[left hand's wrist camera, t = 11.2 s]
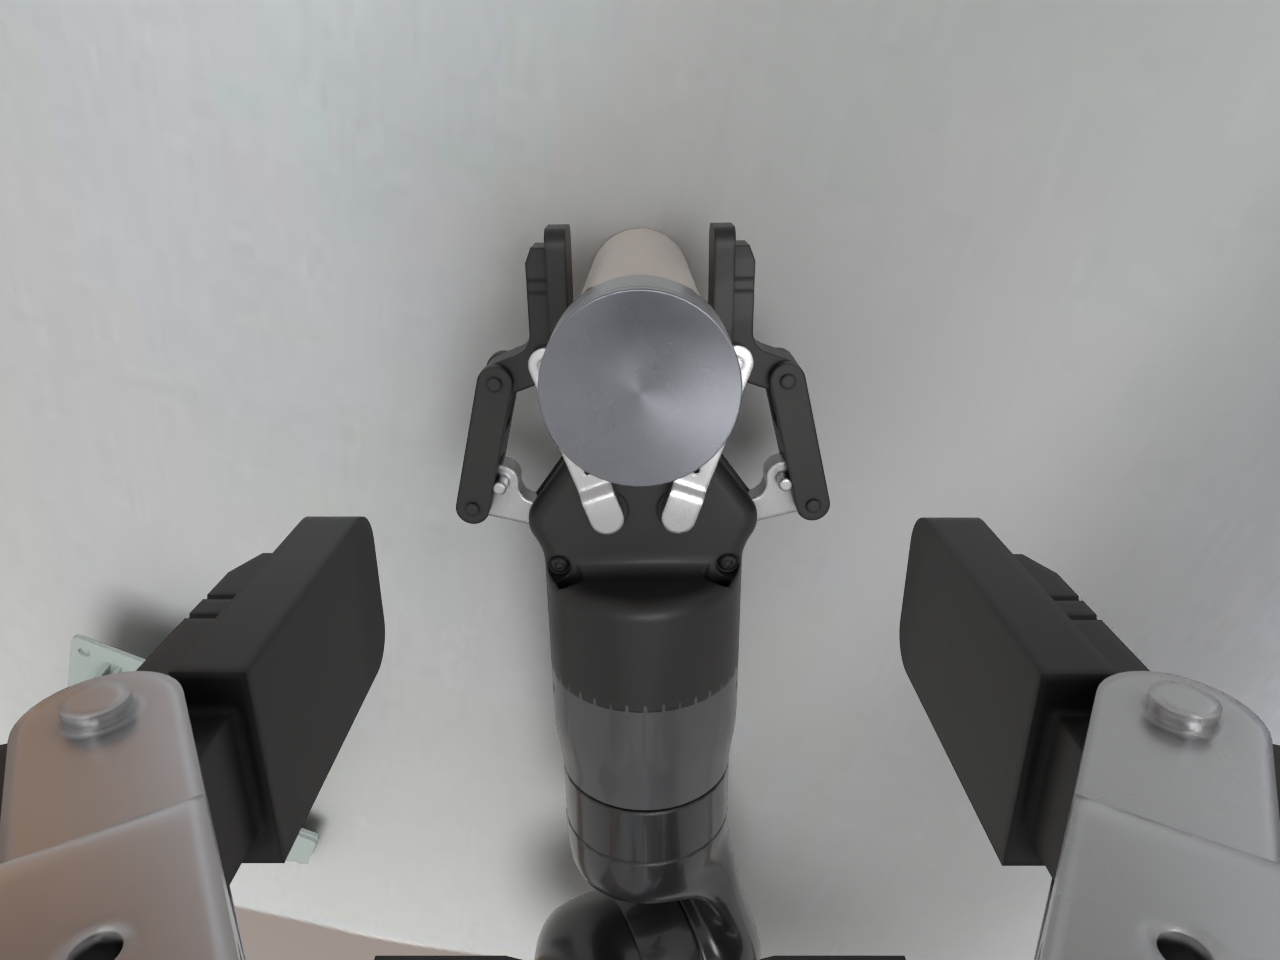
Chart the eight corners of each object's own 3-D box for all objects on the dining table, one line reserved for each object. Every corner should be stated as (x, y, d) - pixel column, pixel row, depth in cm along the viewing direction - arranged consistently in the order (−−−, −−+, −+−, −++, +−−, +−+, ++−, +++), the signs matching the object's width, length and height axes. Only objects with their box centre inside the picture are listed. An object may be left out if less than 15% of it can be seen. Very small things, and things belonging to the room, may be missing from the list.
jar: (570, 266, 35) (517, 365, 20) (653, 207, 34) (663, 263, 19) (627, 347, 36) (618, 498, 21) (708, 292, 35) (759, 408, 20)
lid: (508, 345, 21) (495, 366, 19) (665, 234, 20) (668, 245, 18) (617, 489, 23) (615, 522, 21) (768, 392, 22) (781, 417, 20)
